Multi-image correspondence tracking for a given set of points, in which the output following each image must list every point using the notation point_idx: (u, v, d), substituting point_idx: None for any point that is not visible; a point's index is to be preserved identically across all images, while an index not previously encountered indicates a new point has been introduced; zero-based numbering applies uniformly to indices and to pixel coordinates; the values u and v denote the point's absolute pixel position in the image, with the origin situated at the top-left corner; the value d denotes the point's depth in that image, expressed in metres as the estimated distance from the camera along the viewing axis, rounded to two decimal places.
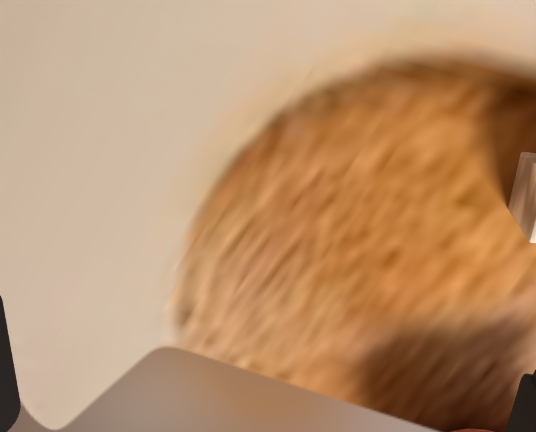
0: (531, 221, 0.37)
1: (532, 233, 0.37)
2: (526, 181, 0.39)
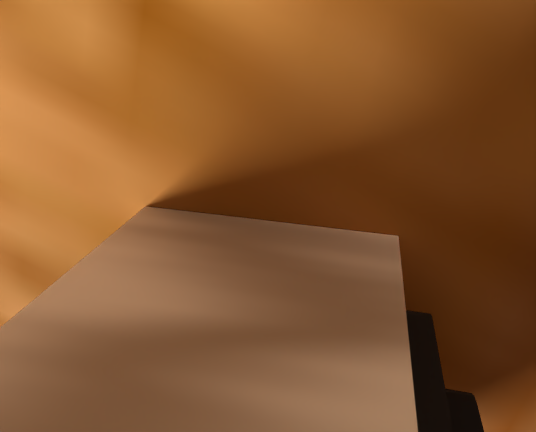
0: None
1: None
2: (289, 312, 0.07)
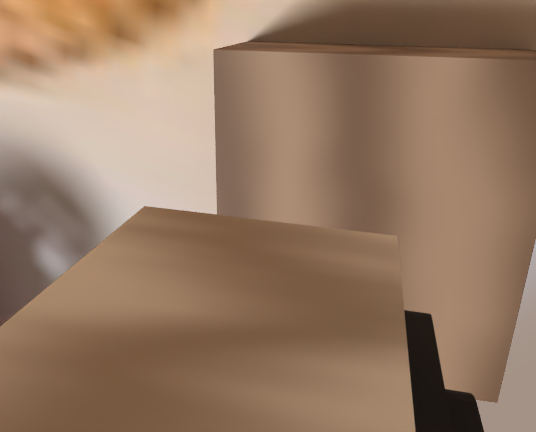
0: None
1: None
2: (287, 312, 0.07)
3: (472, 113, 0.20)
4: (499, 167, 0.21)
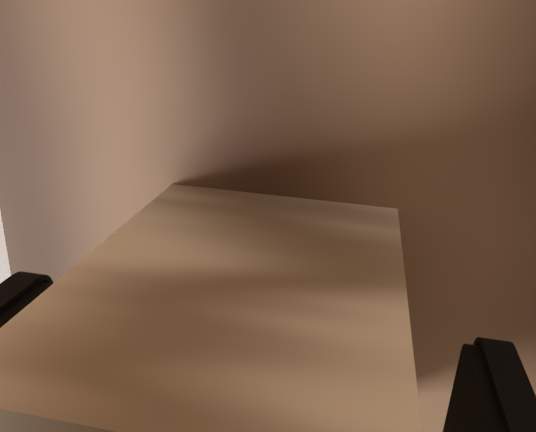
0: (79, 371, 0.06)
1: None
2: (304, 265, 0.08)
3: (485, 42, 0.09)
4: None
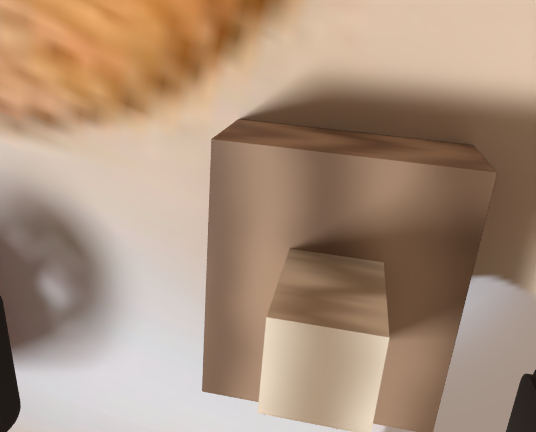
0: (300, 313, 0.21)
1: (282, 320, 0.21)
2: (352, 285, 0.24)
3: (417, 204, 0.25)
4: (437, 247, 0.26)
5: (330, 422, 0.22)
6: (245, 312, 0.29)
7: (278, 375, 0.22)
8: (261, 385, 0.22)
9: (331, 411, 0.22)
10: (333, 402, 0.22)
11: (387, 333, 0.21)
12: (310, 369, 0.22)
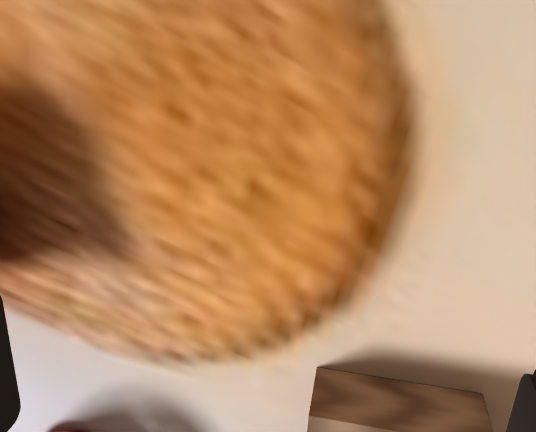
0: None
1: None
2: None
3: None
4: None
5: None
6: None
7: None
8: None
9: None
10: None
11: None
12: None
